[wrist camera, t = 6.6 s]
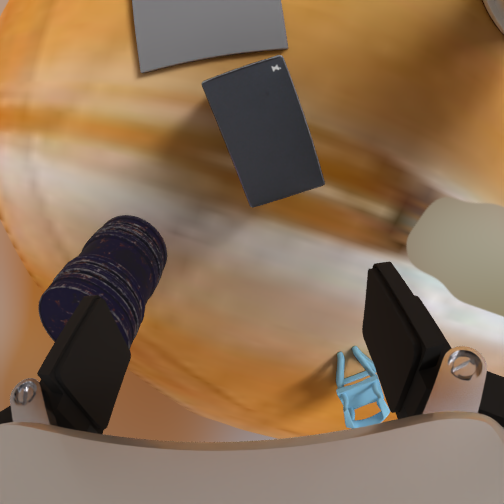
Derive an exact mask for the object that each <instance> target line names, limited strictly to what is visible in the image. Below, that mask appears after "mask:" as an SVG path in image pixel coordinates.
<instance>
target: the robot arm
mask: <svg viewBox="0 0 504 504" xmlns="http://www.w3.org/2000/svg"><path fill="white" fill-rule="evenodd" d="M483 2H484V5H485V7H486V9H487V11H488V13H489V15H490V16H491V18H492V20H493V21H494V23H495V24H496V26H497V27H498V28H499V29H500V31H501V32H502V33H503V34H504V0H483ZM362 330H363V337H364V340H365V342H366V345H367V348H368V350H369V353H370V356H371V358H372V361H373V364H374V366H375V369H376V372H377V375H378V377H379V380H380V383H381V386H382V389H383V391H384V394H385V397H386V400H387V403H388V406H389V409H390V411H391V412H392V413H393V412H396V415H397V418H398V419H397V420H392V421H387V422H383V423H378V424H374V425H369V426H364V427H359V428H354V429H348V430H342V431H336V432H330V433H324V434H318V435H310V436H303V437H294V438H285V439H274V440H261V441H244V442H174V441H158V440H146V439H135V438H125V437H117V436H110V435H103V434H102V433H103V430H104V429H106V428H107V426H108V423H109V420H110V417H111V414H112V411H113V407H114V404H115V401H116V398H117V395H118V392H119V390H120V387H121V384H122V381H123V378H124V375H125V372H126V370H127V367H128V364H129V361H130V358H131V353H130V350H129V348H128V346H127V344H126V342H125V340H124V338H123V336H122V334H121V332H120V330H119V328H118V326H117V324H116V322H115V320H114V318H113V316H112V314H111V312H110V309H109V307H108V305H107V303H106V301H105V300H104V299H102V298H101V297H100V296H99V295H92V296H85V297H84V298H83V299H82V300H81V302H80V303H79V305H78V306H77V308H76V310H75V311H74V313H73V314H72V316H71V317H70V319H69V320H68V322H67V324H66V325H65V327H64V328H63V330H62V332H61V333H60V335H59V337H58V338H57V340H56V342H55V343H54V345H53V347H52V349H51V350H50V352H49V353H48V355H47V357H46V359H45V360H44V362H43V364H42V366H41V368H40V369H39V371H38V373H37V374H38V376H39V377H40V378H41V381H40V383H39V382H38V381H37V380H36V379H33V378H28V379H25V380H23V381H21V382H20V383H18V384H17V385H16V387H15V388H14V389H13V391H12V393H11V397H10V403H11V406H9V407H8V408H6V409H4V410H3V411H1V412H0V504H504V377H502V376H499V375H496V374H493V373H491V372H488V371H487V364H486V361H485V359H484V357H483V356H482V355H481V354H480V353H479V352H478V351H477V350H475V349H473V348H470V347H465V346H459V347H454V348H451V347H450V345H449V343H448V342H447V340H446V339H445V337H444V335H443V334H442V332H441V330H440V329H439V327H438V326H437V324H436V323H435V321H434V319H433V318H432V316H431V315H430V313H429V312H428V310H427V309H426V307H425V306H424V304H423V303H422V301H421V300H420V298H419V297H418V296H414V295H413V293H412V292H411V290H410V289H409V287H408V286H407V284H406V283H405V281H404V280H403V279H402V277H401V276H400V274H399V273H398V271H397V270H396V269H395V267H394V266H393V264H392V263H391V262H383V263H376V264H374V265H373V268H372V269H369V270H368V277H367V290H366V300H365V310H364V319H363V328H362Z"/></svg>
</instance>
